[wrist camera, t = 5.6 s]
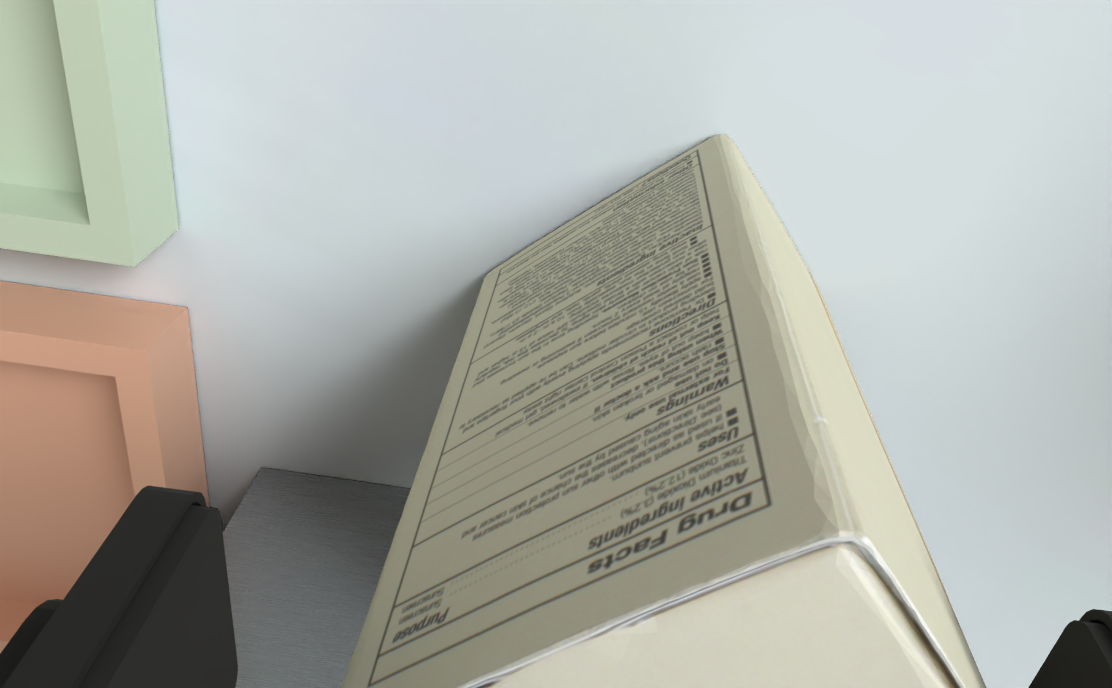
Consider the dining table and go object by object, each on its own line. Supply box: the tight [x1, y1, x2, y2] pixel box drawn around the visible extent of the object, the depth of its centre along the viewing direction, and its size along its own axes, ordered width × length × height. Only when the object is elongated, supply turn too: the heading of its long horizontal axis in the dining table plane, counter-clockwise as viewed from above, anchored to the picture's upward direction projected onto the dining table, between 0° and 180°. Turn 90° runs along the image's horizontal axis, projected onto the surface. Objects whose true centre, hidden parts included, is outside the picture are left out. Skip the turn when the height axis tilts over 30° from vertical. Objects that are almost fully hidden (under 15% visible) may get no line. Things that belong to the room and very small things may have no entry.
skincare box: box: [341, 134, 986, 688], centre depth 14 cm, size 6×4×12 cm
